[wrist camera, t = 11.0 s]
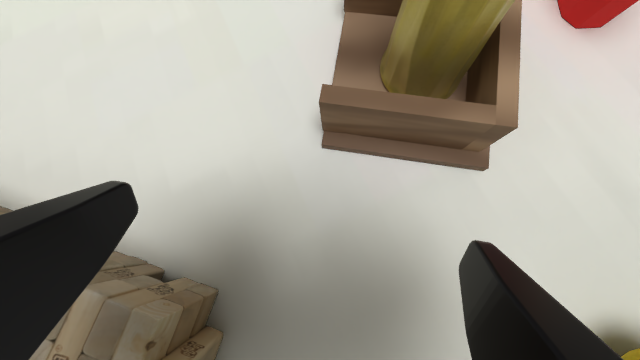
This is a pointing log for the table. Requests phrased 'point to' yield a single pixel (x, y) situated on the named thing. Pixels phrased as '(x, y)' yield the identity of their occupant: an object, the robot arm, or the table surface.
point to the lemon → (632, 355)
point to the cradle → (417, 111)
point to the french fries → (592, 11)
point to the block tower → (134, 317)
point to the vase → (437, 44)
